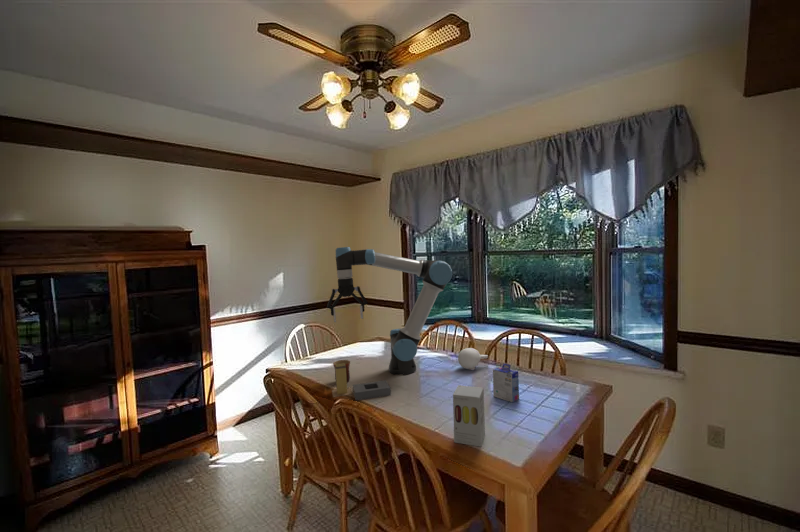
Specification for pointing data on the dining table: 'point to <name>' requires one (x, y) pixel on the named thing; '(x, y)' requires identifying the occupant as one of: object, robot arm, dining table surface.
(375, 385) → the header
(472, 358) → the piggy bank
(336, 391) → the pad
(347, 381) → the mug
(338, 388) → the plug
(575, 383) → the dining table surface
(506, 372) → the ink cartridge box
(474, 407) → the supplement box
